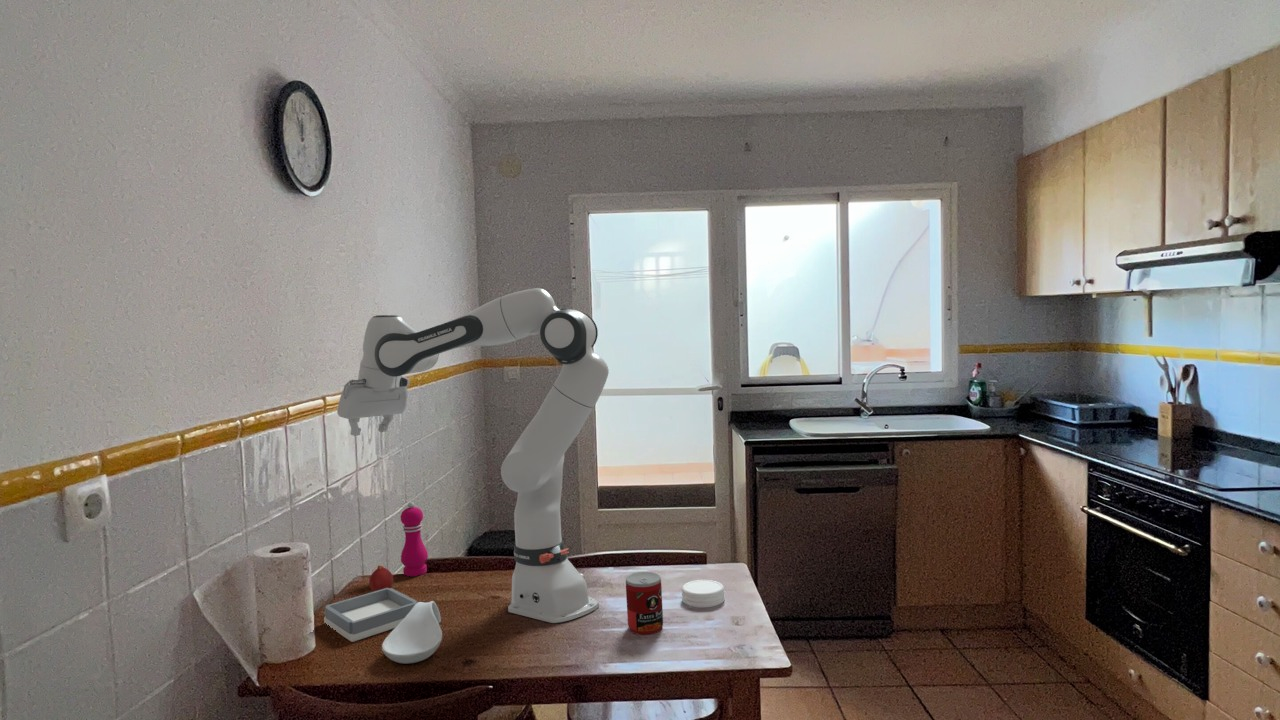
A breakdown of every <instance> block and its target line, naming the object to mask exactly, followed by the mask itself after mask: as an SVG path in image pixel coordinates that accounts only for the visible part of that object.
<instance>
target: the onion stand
mask: <svg viewBox="0 0 1280 720" xmlns="http://www.w3.org/2000/svg"><path fill="white" fill-rule="evenodd" d="M418 602H419V601H418V600H416V599H414V598H412V597H410V596H408V595H407V594H405V593H402V592H401V591H398V590H396V589H394V588H392V587H391V588H390V589H389V588H385V589H381V590H378V591H372V592H368V593H364V594H360V595H358V596H354V597H351V598H347V599H343V600H340V601H337V602H333V603H331V604H326V605H325V606H324V611H325V612H324V613H325V616H324V617H323V621H324V624H325V623H326V624H327V626H328V625H329V626H330V627H329V626H328V627H329V628H331V629H332V628H333V629H332V630H333V631H335V630H336V631H335V632H336V633H338V634H339V635H341V636H342V637H343V638H345V639H347V640H348V641H350V642H351V643H353V642H357V641H359V640H363V639H366V638H369V637H371V636H374V635H378V634H380V633H384V632H387V631H390V630H394V628H395V627H396V626H397V625H398V624H399V623H400V622H401V621H402V620H403V619H404V618H405V617H406V616H407V614H408V613H409V612H410V611H411V610H412V608H413V607H414V606H415V604H416V603H418ZM326 624H325V625H326Z"/></svg>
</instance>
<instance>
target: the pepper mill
mask: <svg viewBox="0 0 1280 720" xmlns="http://www.w3.org/2000/svg"><path fill="white" fill-rule="evenodd" d="M407 506H408V507H407V508H404V509H403V511H402V512H401V514H400V522H401V523H402V524H403V526H402V528H403V530H402V531H403V532H404V534H405V537H404V538H405V542H404V545H403V548H402V551H401V555H400V562H401V564H402V565H403V566H404V567H403V569H402V570H403V572H402V573H403V575H404V576H405V575H407V576H406V577H409V576H410V577H419V576H422V575H425V574H426V573H427V571H428V566H427V564H426V562H427V561H428V559H429V555H428V554H429V553H428V550H427V548H426V545H424V542H423V539H422V535H421V530H422V529H423V527H422V526H423V524H422V521H423V519H424V513H423V511H422V510H421V508H419V507H416V506H415V503H414V502H413V501H409V502H408V504H407ZM418 575H419V576H418Z"/></svg>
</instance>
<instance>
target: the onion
mask: <svg viewBox="0 0 1280 720" xmlns="http://www.w3.org/2000/svg"><path fill="white" fill-rule="evenodd" d="M368 582H369V588H370V589H371V591H372V592H374V591H378V590H381V589H385V588H389V589H390V588H392V587H393V584H394V576H393V573H392V572H391V571H390V570H389V569H387V568H386V567H384V566H383V565H382V564H378V565H377V567H376V569H375V570H374V571H373V572H372V574H371V575H370V576H369V581H368Z"/></svg>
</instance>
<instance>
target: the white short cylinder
mask: <svg viewBox="0 0 1280 720" xmlns="http://www.w3.org/2000/svg"><path fill="white" fill-rule="evenodd" d="M681 596H682V597H681V600H682V603H684V605H686V606H689V607H692V608H698V609H699V608H700V609H701V608H702V609H703V608H705V609H707V608H714V607H717V606H719V605H721V604H723V603H724V602H725V598H726V597H725V587H724V585H723V584H722V583H721V582H719V581H715V580H711V579H696V580H690V581H688V582H686V583H684V584H683V585H682V586H681Z"/></svg>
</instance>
